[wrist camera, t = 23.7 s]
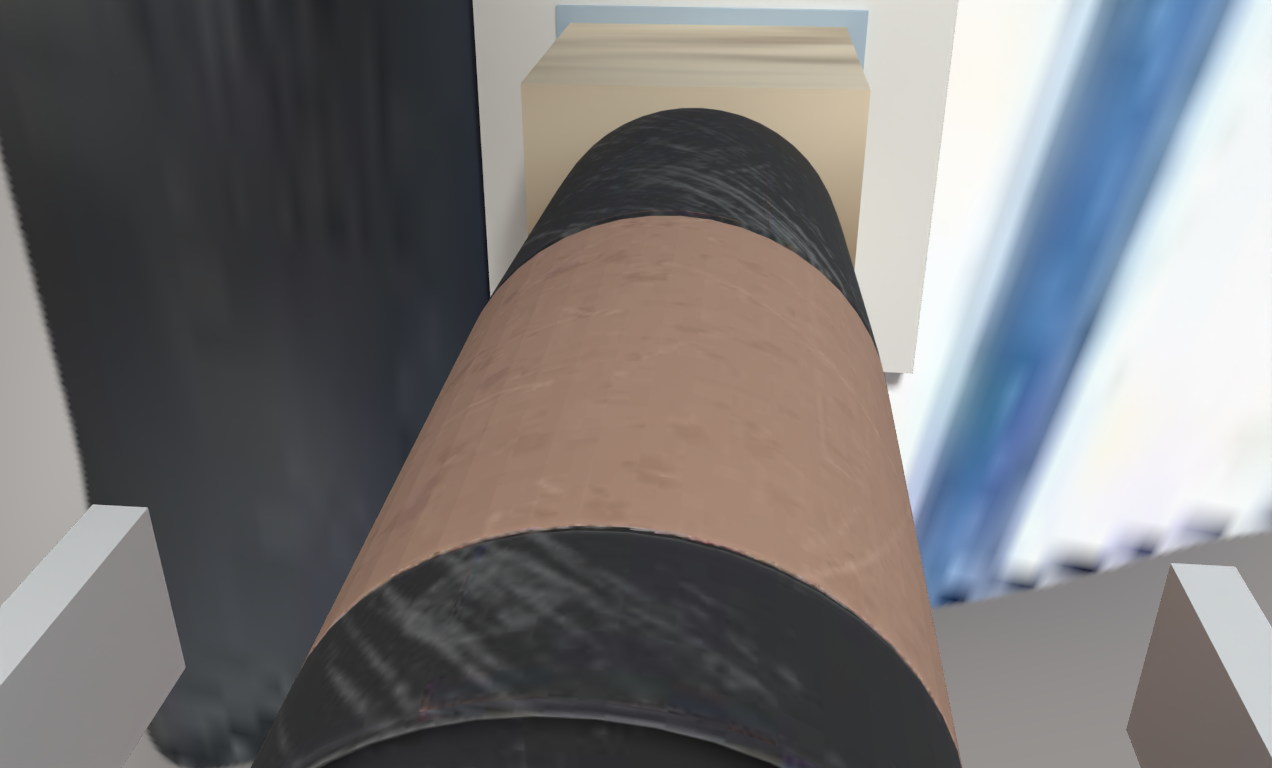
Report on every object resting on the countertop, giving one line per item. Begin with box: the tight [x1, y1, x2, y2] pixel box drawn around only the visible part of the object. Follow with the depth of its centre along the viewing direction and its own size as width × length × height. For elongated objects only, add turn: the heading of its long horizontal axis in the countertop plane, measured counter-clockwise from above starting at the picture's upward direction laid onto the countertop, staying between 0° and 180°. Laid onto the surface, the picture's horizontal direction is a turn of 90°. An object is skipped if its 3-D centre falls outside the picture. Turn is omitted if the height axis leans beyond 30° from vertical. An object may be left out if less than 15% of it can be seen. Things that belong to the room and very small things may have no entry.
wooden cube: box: [521, 23, 871, 270], centre depth 32 cm, size 8×8×8 cm
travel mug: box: [251, 108, 962, 768], centre depth 19 cm, size 8×8×20 cm
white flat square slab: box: [473, 0, 958, 373], centre depth 36 cm, size 14×14×1 cm
